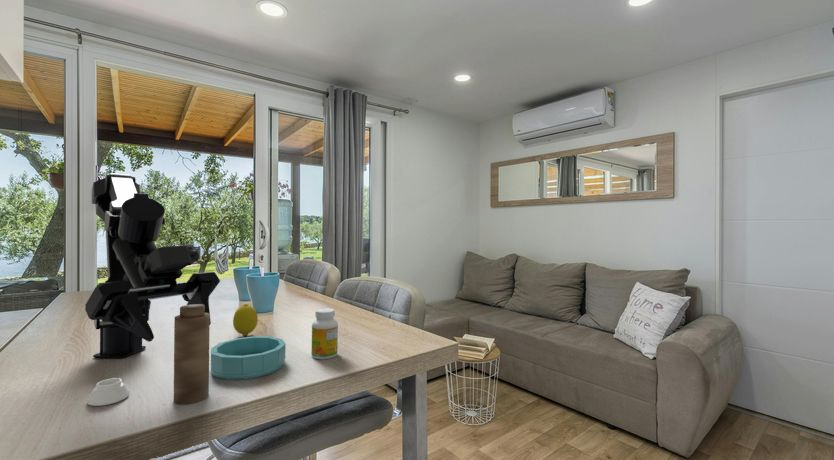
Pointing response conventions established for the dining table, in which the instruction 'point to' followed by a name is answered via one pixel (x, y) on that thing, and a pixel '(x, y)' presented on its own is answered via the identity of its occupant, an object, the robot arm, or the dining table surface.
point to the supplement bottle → (324, 334)
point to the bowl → (247, 357)
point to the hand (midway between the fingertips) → (182, 332)
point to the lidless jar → (108, 392)
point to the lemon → (245, 319)
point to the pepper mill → (191, 354)
